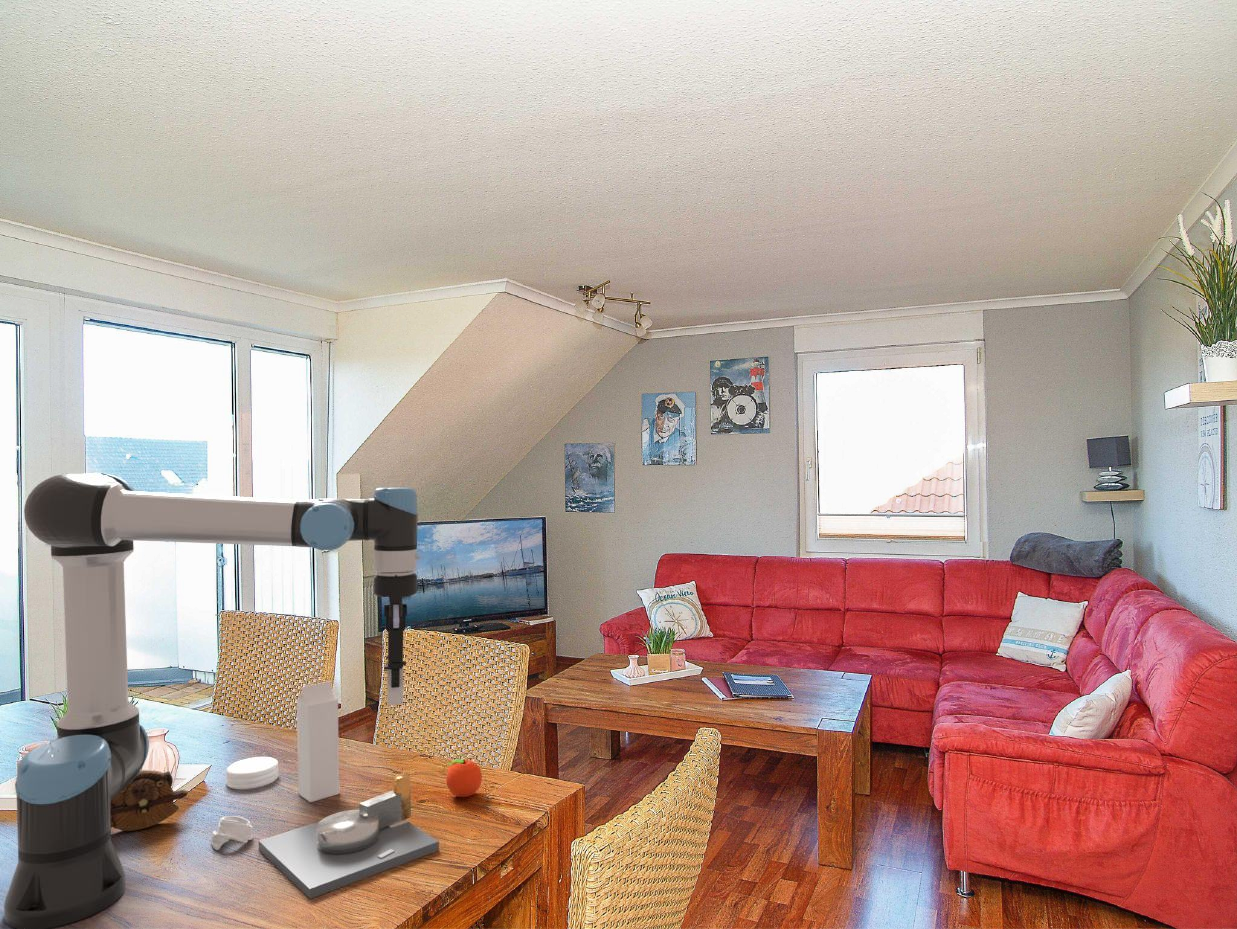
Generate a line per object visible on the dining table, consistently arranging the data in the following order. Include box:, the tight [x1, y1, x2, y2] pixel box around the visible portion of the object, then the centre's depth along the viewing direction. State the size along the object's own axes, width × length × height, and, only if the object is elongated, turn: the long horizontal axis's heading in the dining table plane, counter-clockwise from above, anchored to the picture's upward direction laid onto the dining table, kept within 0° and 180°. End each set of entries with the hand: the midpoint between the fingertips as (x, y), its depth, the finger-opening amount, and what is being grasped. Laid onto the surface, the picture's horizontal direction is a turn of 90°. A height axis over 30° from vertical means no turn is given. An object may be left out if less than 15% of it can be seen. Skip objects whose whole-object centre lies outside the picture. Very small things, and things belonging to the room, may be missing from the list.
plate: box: [258, 808, 440, 900], centre depth 139 cm, size 22×22×2 cm
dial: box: [317, 773, 412, 854], centre depth 141 cm, size 18×10×7 cm, turn 141°
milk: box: [296, 680, 340, 803], centre depth 162 cm, size 6×6×22 cm
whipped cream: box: [211, 815, 254, 851], centre depth 143 cm, size 8×7×5 cm
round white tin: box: [225, 756, 280, 790], centre depth 170 cm, size 10×10×4 cm
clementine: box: [443, 759, 483, 798], centre depth 161 cm, size 8×7×7 cm
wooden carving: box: [111, 769, 189, 832], centre depth 148 cm, size 16×5×10 cm, turn 123°
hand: (394, 703), depth 147 cm, fingers closed
